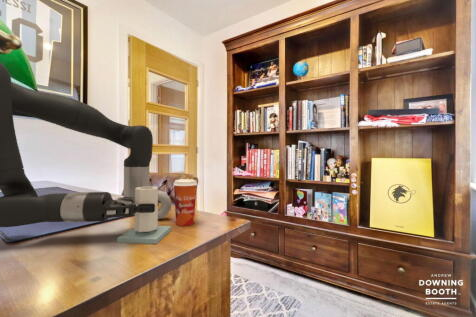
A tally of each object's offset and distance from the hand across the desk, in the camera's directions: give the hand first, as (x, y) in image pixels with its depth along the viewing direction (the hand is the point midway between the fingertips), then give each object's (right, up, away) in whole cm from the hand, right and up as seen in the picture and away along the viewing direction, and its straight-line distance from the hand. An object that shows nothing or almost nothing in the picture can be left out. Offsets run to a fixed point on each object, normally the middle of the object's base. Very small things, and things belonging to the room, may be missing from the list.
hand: (156, 205), depth 60 cm
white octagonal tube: (-3, -6, 0) cm, 7 cm away
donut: (-6, -8, +15) cm, 18 cm away
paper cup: (+5, -8, +11) cm, 15 cm away
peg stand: (-3, -8, 0) cm, 9 cm away
